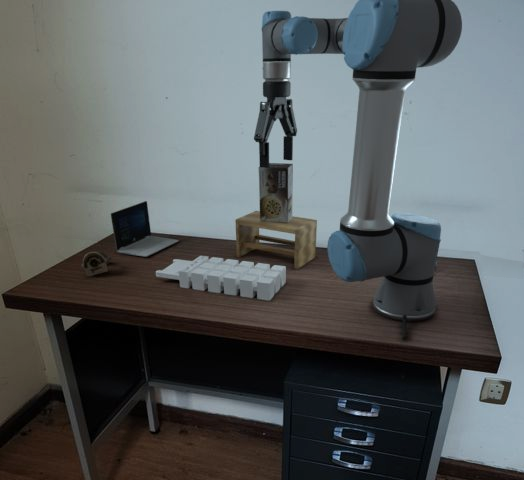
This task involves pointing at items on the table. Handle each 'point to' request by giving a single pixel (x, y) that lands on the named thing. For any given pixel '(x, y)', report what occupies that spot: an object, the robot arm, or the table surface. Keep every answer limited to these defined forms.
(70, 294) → the table surface
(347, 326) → the table surface
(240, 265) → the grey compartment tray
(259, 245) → the two-tier rack
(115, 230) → the laptop
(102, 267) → the brown rounded piece
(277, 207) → the coffee box
